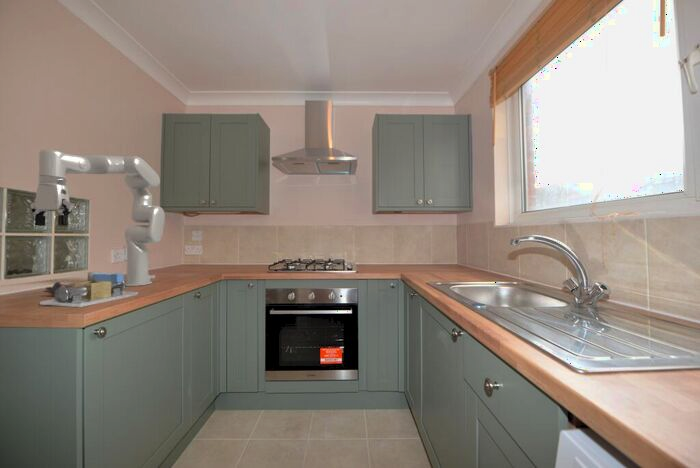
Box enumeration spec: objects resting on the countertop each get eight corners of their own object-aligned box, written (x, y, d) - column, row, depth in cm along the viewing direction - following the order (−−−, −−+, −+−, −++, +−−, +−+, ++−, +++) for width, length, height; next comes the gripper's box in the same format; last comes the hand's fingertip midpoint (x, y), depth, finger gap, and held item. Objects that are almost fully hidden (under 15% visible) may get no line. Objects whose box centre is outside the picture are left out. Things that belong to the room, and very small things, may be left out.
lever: (85, 281, 121) (85, 272, 121) (94, 280, 124) (94, 271, 124) (116, 282, 118) (116, 273, 118) (124, 281, 121) (124, 272, 122)
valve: (102, 297, 137) (60, 298, 124) (73, 294, 148) (32, 295, 135) (104, 283, 138) (63, 282, 125) (76, 281, 149) (35, 281, 136)
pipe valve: (103, 293, 135) (104, 276, 136) (137, 294, 132) (138, 277, 132) (40, 304, 112) (40, 284, 112) (79, 307, 109) (80, 286, 109)
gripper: (82, 183, 121) (81, 226, 121) (42, 184, 122) (41, 226, 122) (62, 180, 113) (62, 225, 113) (21, 180, 115) (20, 225, 114)
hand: (51, 225), depth 117 cm, fingers open, 9 cm apart
